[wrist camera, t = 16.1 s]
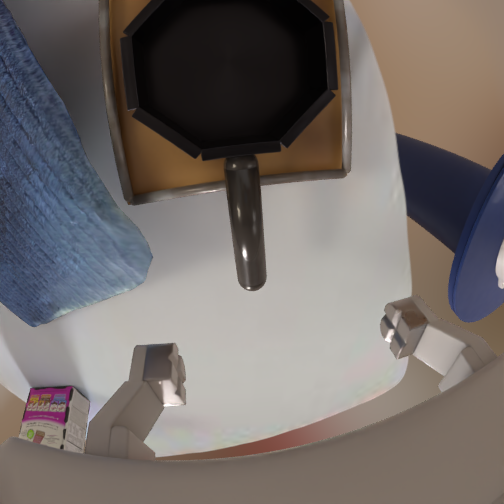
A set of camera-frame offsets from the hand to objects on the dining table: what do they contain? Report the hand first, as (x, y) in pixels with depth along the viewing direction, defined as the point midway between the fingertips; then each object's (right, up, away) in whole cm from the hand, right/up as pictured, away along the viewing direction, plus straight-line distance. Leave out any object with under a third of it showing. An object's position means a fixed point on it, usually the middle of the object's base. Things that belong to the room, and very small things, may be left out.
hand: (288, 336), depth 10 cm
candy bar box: (-32, -19, +22) cm, 43 cm away
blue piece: (-27, +16, +1) cm, 31 cm away
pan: (-2, +10, +5) cm, 11 cm away
